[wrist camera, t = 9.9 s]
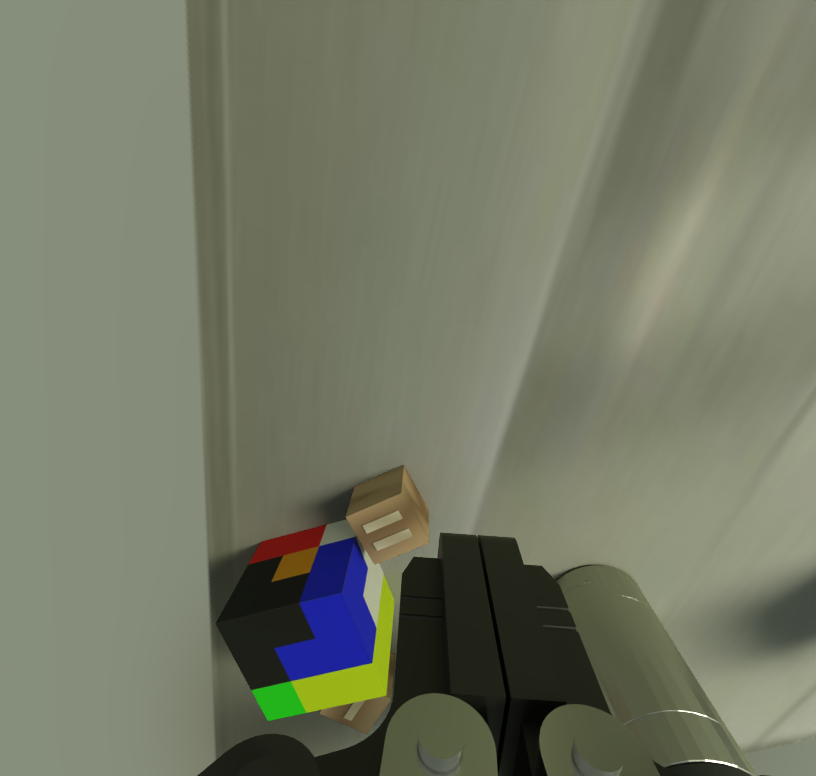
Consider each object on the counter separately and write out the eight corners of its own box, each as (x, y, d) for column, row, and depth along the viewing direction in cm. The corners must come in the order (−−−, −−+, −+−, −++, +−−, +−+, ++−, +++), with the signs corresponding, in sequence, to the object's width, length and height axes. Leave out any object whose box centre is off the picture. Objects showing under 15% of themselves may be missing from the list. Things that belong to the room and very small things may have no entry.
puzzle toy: (360, 515, 43) (341, 592, 33) (394, 601, 45) (386, 695, 36) (261, 541, 44) (215, 623, 34) (300, 623, 46) (267, 721, 37)
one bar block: (394, 653, 47) (391, 701, 42) (372, 686, 49) (366, 735, 44) (351, 633, 47) (342, 679, 42) (329, 667, 48) (319, 715, 43)
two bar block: (428, 509, 42) (429, 544, 37) (380, 529, 43) (374, 566, 38) (404, 464, 41) (401, 494, 36) (354, 486, 42) (345, 518, 37)
